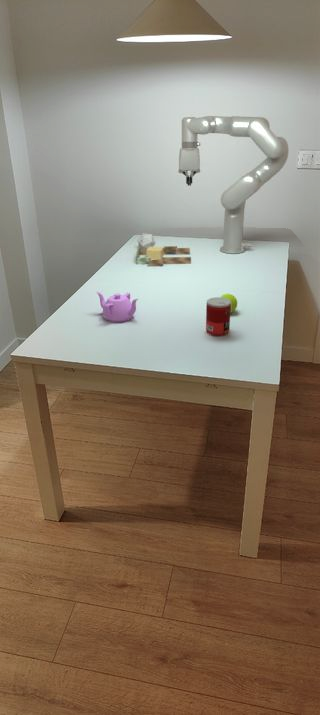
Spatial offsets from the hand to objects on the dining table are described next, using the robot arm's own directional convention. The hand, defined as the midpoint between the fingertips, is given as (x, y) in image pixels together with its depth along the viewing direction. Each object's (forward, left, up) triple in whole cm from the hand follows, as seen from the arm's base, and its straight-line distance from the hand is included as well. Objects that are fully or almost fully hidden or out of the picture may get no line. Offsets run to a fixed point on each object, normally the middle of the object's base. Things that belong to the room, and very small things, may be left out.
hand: (189, 185), depth 255 cm
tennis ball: (-11, +90, -31) cm, 96 cm away
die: (+22, +3, -31) cm, 38 cm away
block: (+17, +18, -31) cm, 40 cm away
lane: (+13, +21, -31) cm, 40 cm away
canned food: (-6, +107, -31) cm, 112 cm away
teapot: (+29, +93, -31) cm, 102 cm away
